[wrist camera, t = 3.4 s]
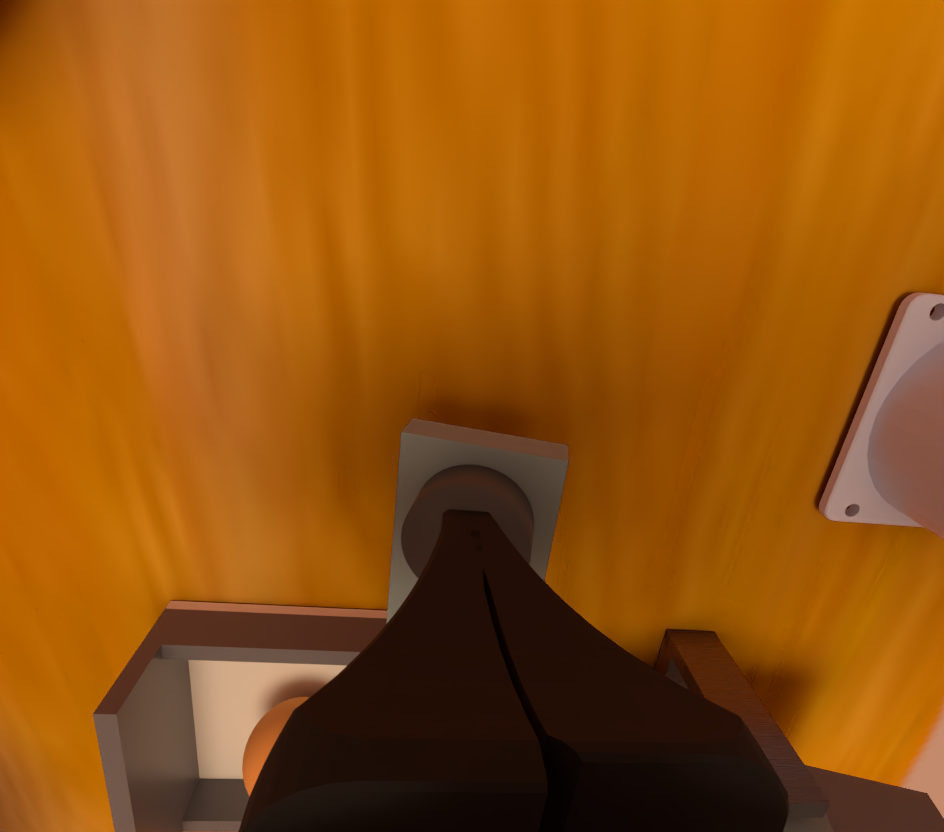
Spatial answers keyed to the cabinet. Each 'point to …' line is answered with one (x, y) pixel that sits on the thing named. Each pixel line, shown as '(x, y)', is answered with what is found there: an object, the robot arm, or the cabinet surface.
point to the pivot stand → (739, 709)
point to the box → (212, 704)
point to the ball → (265, 739)
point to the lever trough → (531, 532)
